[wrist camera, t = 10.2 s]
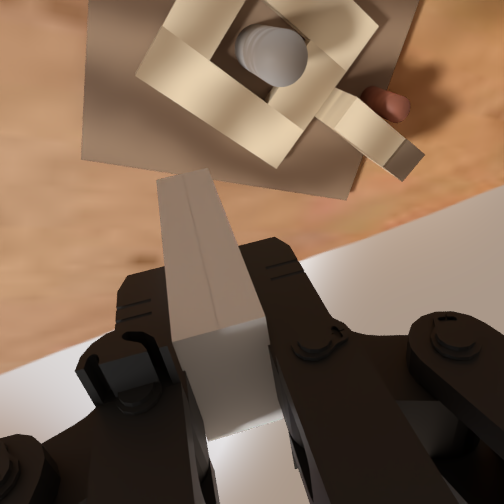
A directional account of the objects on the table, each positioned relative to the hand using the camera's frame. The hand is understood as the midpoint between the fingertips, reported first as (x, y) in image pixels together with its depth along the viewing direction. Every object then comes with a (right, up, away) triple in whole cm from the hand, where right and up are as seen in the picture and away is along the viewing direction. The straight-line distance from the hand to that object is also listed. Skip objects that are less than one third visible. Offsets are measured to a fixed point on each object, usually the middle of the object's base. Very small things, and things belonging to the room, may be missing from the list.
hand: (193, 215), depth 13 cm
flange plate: (+5, +12, +18) cm, 22 cm away
